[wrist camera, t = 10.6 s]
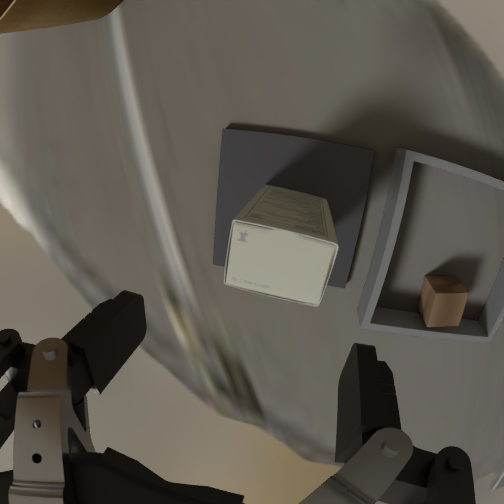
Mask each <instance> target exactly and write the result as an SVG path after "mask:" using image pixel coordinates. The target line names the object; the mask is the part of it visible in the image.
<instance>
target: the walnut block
mask: <svg viewBox="0 0 504 504" xmlns="http://www.w3.org/2000/svg"><path fill="white" fill-rule="evenodd" d="M468 294H469V293H468V291H467V290H466V289H465V287H464V286H463V285H462V283H461V282H460V281H459V280H458V278H457V277H456V276H455V275H425V277H424V282H423V287H422V291H421V296H420V301H419V305H418V308H419V310H420V312H421V315H422V317H423V319H424V321H425V324H426V326H427V327H445V326H459V323H460V320H461V317H462V314H463V311H464V307H465V304H466V301H467V297H468Z"/></svg>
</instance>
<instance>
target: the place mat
mask: <svg viewBox="0 0 504 504" xmlns="http://www.w3.org/2000/svg"><path fill="white" fill-rule="evenodd" d="M373 157H374V151H373V150H369V149H364V148H360V147H355V146H350V145H345V144H339V143H334V142H328V141H323V140H316V139H310V138H304V137H297V136H290V135H282V134H274V133H266V132H257V131H247V130H236V129H223V130H222V141H221V153H220V165H219V178H218V191H217V205H216V221H215V237H214V255H213V264H214V265H220V266H225V263H226V256H227V250H228V243H229V237H230V231H231V226H232V220H233V219H234V218H235V217H236V216H237V214H238V213H239V212H240V211H241V210H242V209H243V208H244V207H245V206H246V205H247V203H248V202H249V201H250V200H251V199H252V198H253V197H254V196H255V195H256V194H257V193H258V191H259V190H260V189H261V188H262V187H263V186H264V185H270V186H275V187H280V188H285V189H289V190H293V191H298V192H302V193H306V194H309V195H313V196H317V197H321V198H324V199H326V200H327V202H328V205H329V209H330V213H331V217H332V221H333V225H334V229H335V234H336V237H337V242H338V246H339V249H338V252H337V255H336V259H335V262H334V265H333V268H332V271H331V274H330V277H329V280H328V283H327V285H329V286H335V287H340V288H345V286H346V282H347V278H348V275H349V271H350V267H351V263H352V259H353V255H354V251H355V247H356V242H357V238H358V234H359V229H360V225H361V220H362V216H363V211H364V206H365V201H366V196H367V191H368V186H369V180H370V175H371V169H372V163H373Z"/></svg>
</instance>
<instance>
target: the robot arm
mask: <svg viewBox="0 0 504 504" xmlns="http://www.w3.org/2000/svg"><path fill="white" fill-rule="evenodd" d="M146 328H147V327H146V317H145V307H144V299H143V296H142V295H140V294H136V293H133V292H129V291H126V290H124V291H122V292H121V293H120V294H118V295H117V296H116V297H115V298H114V299H109V300H107V301H105V302H103V303H100V304H99V305H98V306H97V307H96V308H94V309H93V310H92V312H91V313H89V314H88V315H87V316H86V317H85V319H84V318H83V319H82V320H81V321H80V322H79V323H78V324H77V325H76V326H75V327H73V328H72V329H71V330H70V331H69V332H68V333H67V334H66V335H65V336H64V337H63V338H62V339H59V338H47V339H44V340H42V341H40V342H39V343H38V344H37V345H33V344H29V343H24V342H22V340H21V337H20V335H19V333H18V332H17V331H16V330H14V329H4V330H1V331H0V378H1V377H2V376H3V375H4V374H5V375H6V377H7V379H8V381H9V382H8V383H7V385H6V386H5V387H4V388H3V389H2V390H1V391H0V448H1V447H2V445H3V444H4V443H5V441H6V440H7V439H8V437H9V436H10V434H11V433H12V432H13V430H14V450H13V470H10V471H5V472H0V504H244V503H242V502H243V499H244V496H243V495H239V494H235V493H230V492H227V491H223V490H219V489H215V488H212V487H208V486H198V485H188V484H180V483H172V482H168V481H166V480H164V479H162V478H161V477H160V476H158V475H157V474H155V473H153V472H152V471H151V470H149V469H148V468H147V467H145V466H144V465H142V464H141V463H140V462H138V461H137V460H135V459H132V458H130V457H128V456H126V455H124V454H121V453H119V452H117V451H115V450H113V449H111V448H109V447H107V449H106V450H105V452H104V453H97V452H95V448H94V446H93V443H92V440H91V434H90V426H89V416H88V405H87V404H88V403H87V396H86V393H87V392H88V391H89V390H91V391H93V392H95V393H97V394H101V393H102V391H103V390H104V389H105V387H106V386H107V385H108V384H109V382H110V381H111V380H112V379H113V377H114V376H115V374H116V373H117V372H118V371H119V370H120V368H121V367H122V366H123V364H124V363H125V362H126V361H127V359H128V358H129V357H130V356H131V354H132V353H133V351H135V349H136V348H137V347H138V346H139V344H140V343H141V342H142V341H143V339H144V337H145V334H146ZM395 394H396V390H395V386H394V379H393V373H392V371H391V370H390V368H389V367H388V365H387V364H386V362H385V361H377V355H376V349H375V346H372V345H365V344H358V343H354V344H353V346H352V348H351V351H350V353H349V356H348V358H347V361H346V363H345V365H344V368H343V370H342V373H341V376H340V379H339V385H338V412H337V435H336V452H335V462H340V463H344V466H343V467H342V468H341V469H340V470H339V471H338V472H337V473H336V474H334V476H331V477H330V478H328V479H327V480H326V481H325V482H324V483H323V484H321V486H319V487H318V488H317V489H316V490H314V491H313V492H312V493H311V494H310V495H309V496H307V497H306V498H305V499H304V500H303V501H301V502H300V503H299V504H375V503H376V502H377V501H381V502H385V503H388V504H476V503H475V492H474V483H473V475H472V468H471V462H470V459H469V457H468V455H467V454H466V453H465V452H464V451H463V450H462V449H460V448H458V447H453V446H450V447H445V448H443V449H442V450H441V451H440V452H439V453H438V454H435V453H432V452H429V451H425V450H422V449H419V448H416V447H415V446H413V444H412V441H411V439H410V438H409V436H408V435H407V434H406V433H404V432H403V431H402V430H401V424H400V416H399V409H398V403H397V396H396V395H395Z"/></svg>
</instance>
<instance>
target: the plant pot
mask: <svg viewBox="0 0 504 504" xmlns="http://www.w3.org/2000/svg"><path fill="white" fill-rule="evenodd" d="M120 1H121V0H0V33H8V32H16V31H25V30H32V29H40V28H47V27H54V26H60V25H67V24H73V23H79V22H84V21H90V20H95V19H99V18H101V17H103V16H105V15H107V14H108V13H110V12H111V11H112V10H113V9H114V8H115V7H116V6H117V5H118V4H119V2H120Z"/></svg>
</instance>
